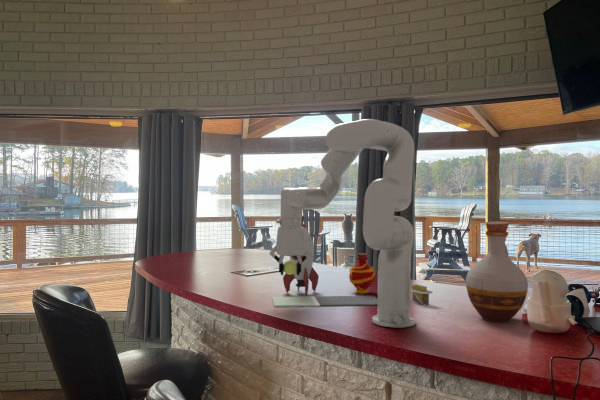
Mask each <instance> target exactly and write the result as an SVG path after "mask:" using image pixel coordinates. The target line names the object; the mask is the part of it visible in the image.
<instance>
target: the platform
mask: <svg viewBox="0 0 600 400" xmlns="http://www.w3.org/2000/svg"><path fill="white" fill-rule="evenodd" d="M410 292H412V301H413V302H418V303H420V305H430V301H429V299H430V295H431V294H433V293H434V292H433V291H432V290H428V286H425V285H420V284H411V286H410Z"/></svg>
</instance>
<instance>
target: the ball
mask: <svg viewBox="0 0 600 400" xmlns="http://www.w3.org/2000/svg"><path fill="white" fill-rule="evenodd" d="M283 264H284V268H283V273H284V274H288V275H292V274H294V273H295V272H296V271H297V264H296V263H295V262H294V261H291V260H290V259H289V260H286V261H285V262H283Z"/></svg>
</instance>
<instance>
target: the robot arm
mask: <svg viewBox="0 0 600 400" xmlns="http://www.w3.org/2000/svg"><path fill="white" fill-rule="evenodd" d="M325 144H326V146H327V148H328V151H327V152H326V153H325V155H324V156H323V157H322V159H321V161H320V165H321V168H322V169H323V170H324V172H326V175H325V178H324V180H322V182H321V183H320V184H319V186H317V187H284V188H282V189H281V191H280V218H278V219H276V220H275V224H278V225H279V226H278V228H277V234H276V243H275V245H274V246H273V248H272V249H271V250H270V251H269V256H271V257H272V258H273V259H274V260H276V261H277V263H278V273H280V275H281V276H284V270H283V268H284V262H283V260H284V258H285V256H286V257H290V256H297V259H298V261H297V272H296V273H297V275H299V273H301V264H302V262H303V261H304V260H305V259H306V258H308V257H309V256H310V255H311V253H310V251H309V250H308V249H307V247H306V246H305V232H304V227H302V216H303V215H302V214H303V210H309V211H310V210H322V209H324V208H326V207H327V206H328V205H329V204H330V203H331V202H332V201H333V200H334V198H335V197H336V196H337V194H338V193H339V192H340V189H341V186H342V182H343V181H342V180H343V179H342V178H343V175H344V174H345V172H346V171H348V169H349V168H350V166H351V165H352V164H353V163H354V161H355V160H356V159H357V157H358V156H359V155H360V154H361V152H362V151H363V150H364V149H372V150H378V151H379V150H380V151H385V152H386V153H387V154H386V156H385V159H384V161H383V169H382V170H383V173H382V177H381V178H377V179H375V180H373V181H372V182H371V183H370V184H369V185H368V186H367V188H366V191H365V194H364V199H363V217H362V218H363V219H362V221H363V222H362V236H363V239H364V241H365V244H366V245H367V247H369V248H370V249H372V250H375V251H379V255H378V260H377V299H378V305H376V307H377V309H376V310H377V314H375V315H373V316H372V317H371V319H372V320H371V322H372V323H373V324H375V325H377V326H380V327H387V328H397V329H398V328H399V329H400V328H411V327H413V326H414V325H416V319H415V318H414V317H413V316H411V291H410V287H411V271H412V270H411V269H412V268H411V266H412V265H411V263H412V252H413V251H412V250H413V245H414V239H415V238H414V237H415V231H414V227H413V225H412V224H411V222H410V221H409V220H408V219H407V218H405V217H403V216H399V215H395V212H402V211H405V210H406V209H408V208H409V207H410V204H411V203H412V192H413V191H412V190H413V189H412V188H413V176H414V175H413V167H414V156H415V155H414V154H415V143H414V139H413V137H412V135H411V134H410V133H409V131H408V130H406V129H405V128H403V127H402V126H399V125H397V124H396V123H392V122H388V121H384V120H383V121H382V120H379V119H375V118H374V119H373V118H364V119H360V120H359V119H358V120H354V121H349V122H342V123H338V124H335V125H334V126H332V127H330V128H329V131H328V132H327V134H326V135H325ZM305 252H306V254H305ZM304 254H305V255H304ZM302 255H304V256H303V257H302V258H301V256H302Z"/></svg>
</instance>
